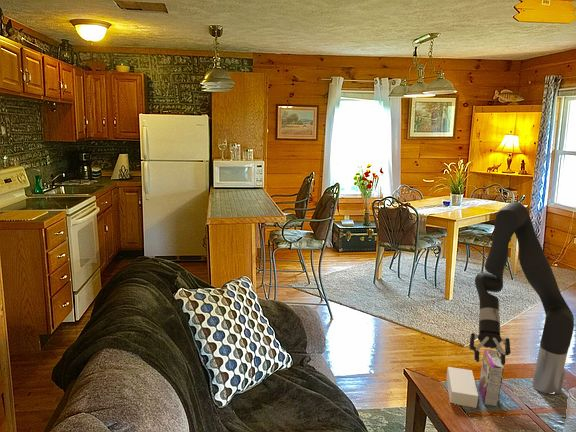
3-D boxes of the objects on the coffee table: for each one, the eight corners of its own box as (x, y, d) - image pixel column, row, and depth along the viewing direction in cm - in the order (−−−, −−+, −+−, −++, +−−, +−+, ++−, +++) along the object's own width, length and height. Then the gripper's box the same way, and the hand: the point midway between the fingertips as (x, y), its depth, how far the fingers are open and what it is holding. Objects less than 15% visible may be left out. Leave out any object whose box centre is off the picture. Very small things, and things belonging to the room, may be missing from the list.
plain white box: (470, 381, 184) (472, 370, 182) (476, 407, 169) (478, 395, 167) (446, 377, 186) (447, 366, 184) (450, 403, 171) (451, 391, 169)
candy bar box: (477, 386, 181) (483, 348, 176) (491, 388, 180) (497, 350, 176) (483, 405, 170) (489, 365, 166) (497, 407, 170) (504, 367, 165)
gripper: (472, 316, 182) (471, 358, 174) (511, 321, 179) (513, 364, 171) (468, 321, 188) (467, 362, 180) (506, 327, 185) (507, 369, 177)
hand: (489, 363), depth 176 cm, fingers open, 8 cm apart
